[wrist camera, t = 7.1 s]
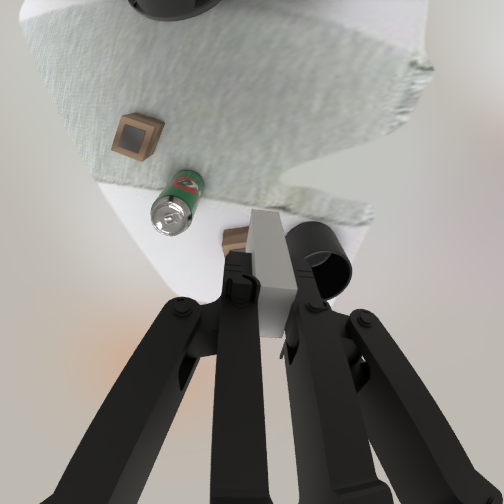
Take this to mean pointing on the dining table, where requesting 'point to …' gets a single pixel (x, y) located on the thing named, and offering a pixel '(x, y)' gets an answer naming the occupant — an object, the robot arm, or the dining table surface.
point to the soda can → (177, 203)
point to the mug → (321, 257)
